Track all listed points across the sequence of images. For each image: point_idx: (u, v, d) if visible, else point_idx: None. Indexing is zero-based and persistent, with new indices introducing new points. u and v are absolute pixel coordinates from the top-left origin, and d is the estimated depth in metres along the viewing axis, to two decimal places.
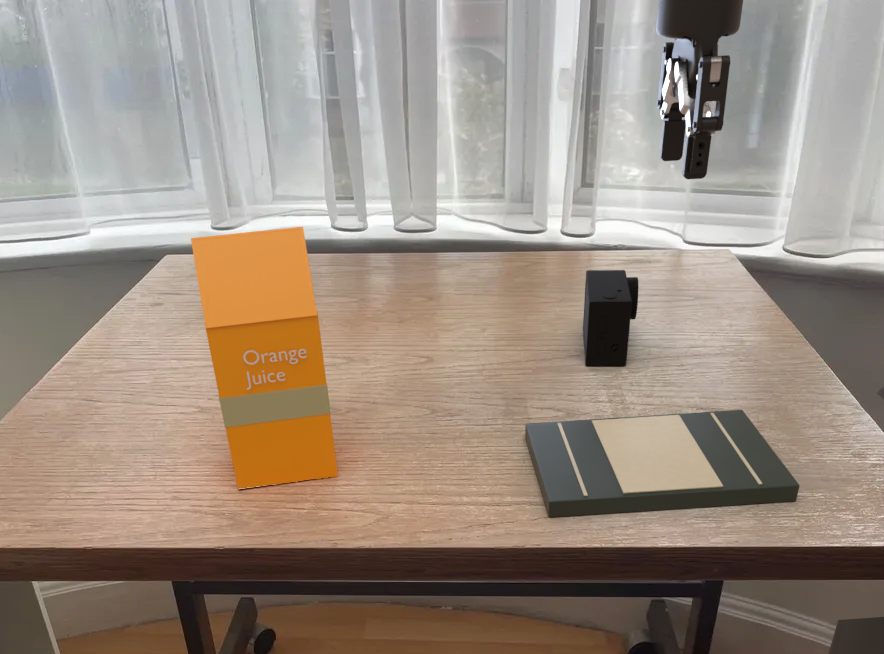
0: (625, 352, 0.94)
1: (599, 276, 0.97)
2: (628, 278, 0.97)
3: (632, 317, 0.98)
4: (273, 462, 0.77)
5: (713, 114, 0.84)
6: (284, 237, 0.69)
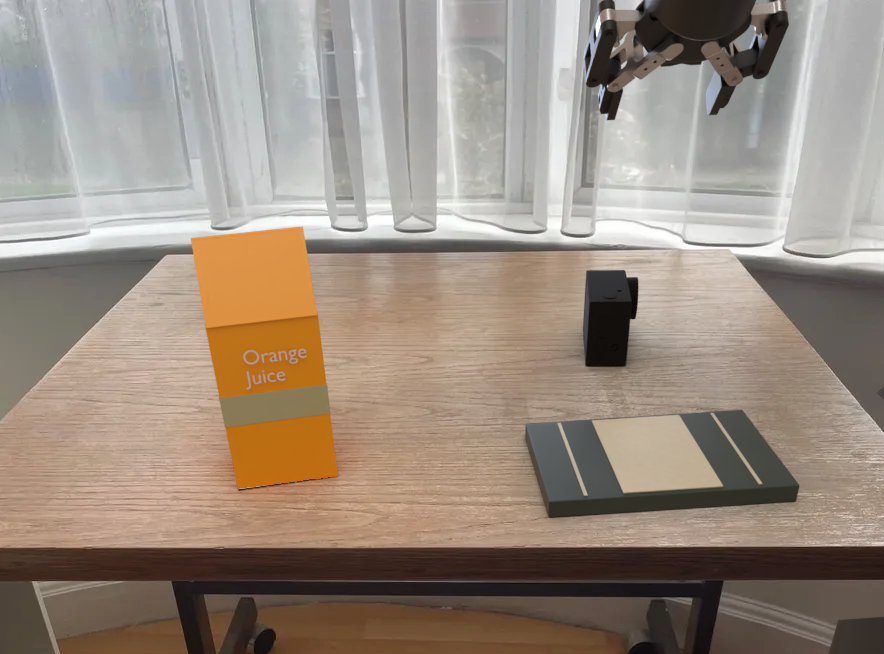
0: (625, 352, 0.94)
1: (599, 276, 0.97)
2: (628, 278, 0.97)
3: (632, 317, 0.98)
4: (273, 462, 0.77)
5: (619, 74, 0.69)
6: (284, 237, 0.69)
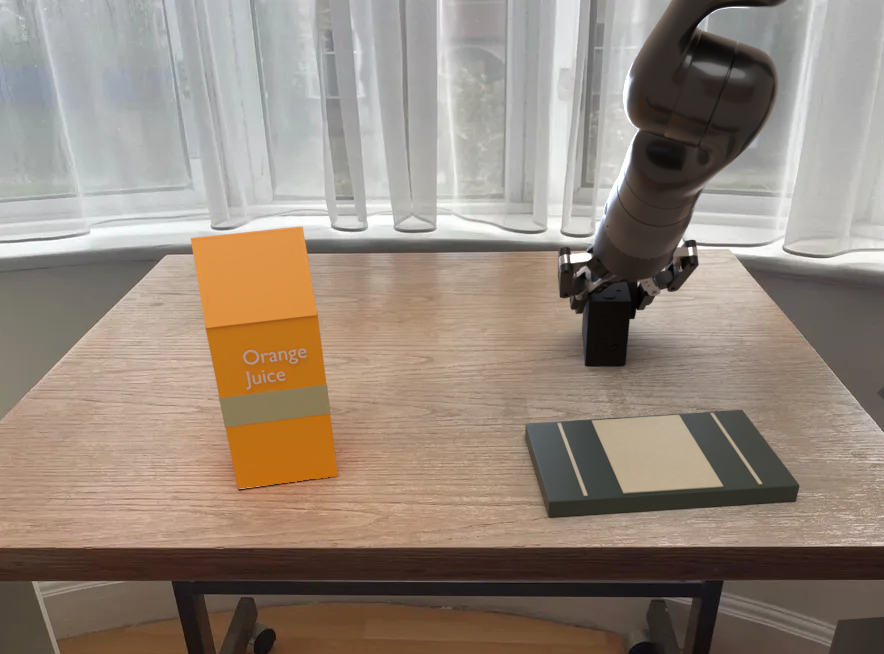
0: (625, 352, 0.94)
1: None
2: None
3: (631, 317, 0.98)
4: (273, 462, 0.77)
5: (582, 291, 0.92)
6: (284, 237, 0.69)
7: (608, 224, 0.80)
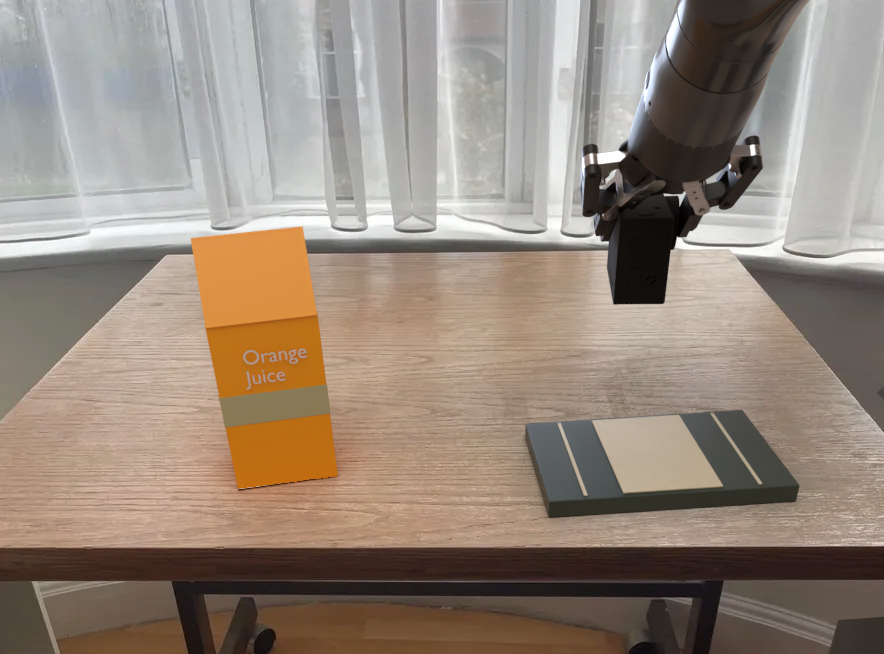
0: (664, 286, 0.74)
1: None
2: (666, 196, 0.77)
3: (670, 246, 0.78)
4: (273, 462, 0.77)
5: (611, 206, 0.73)
6: (283, 237, 0.69)
7: (651, 100, 0.61)
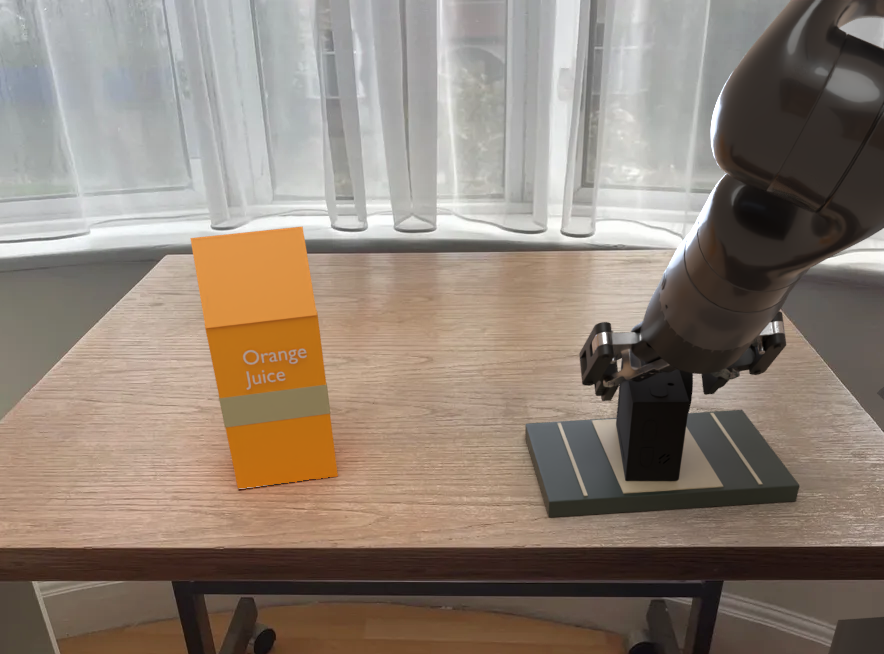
0: (678, 464, 0.71)
1: None
2: None
3: None
4: (273, 462, 0.77)
5: (615, 376, 0.69)
6: (283, 237, 0.69)
7: (667, 304, 0.57)
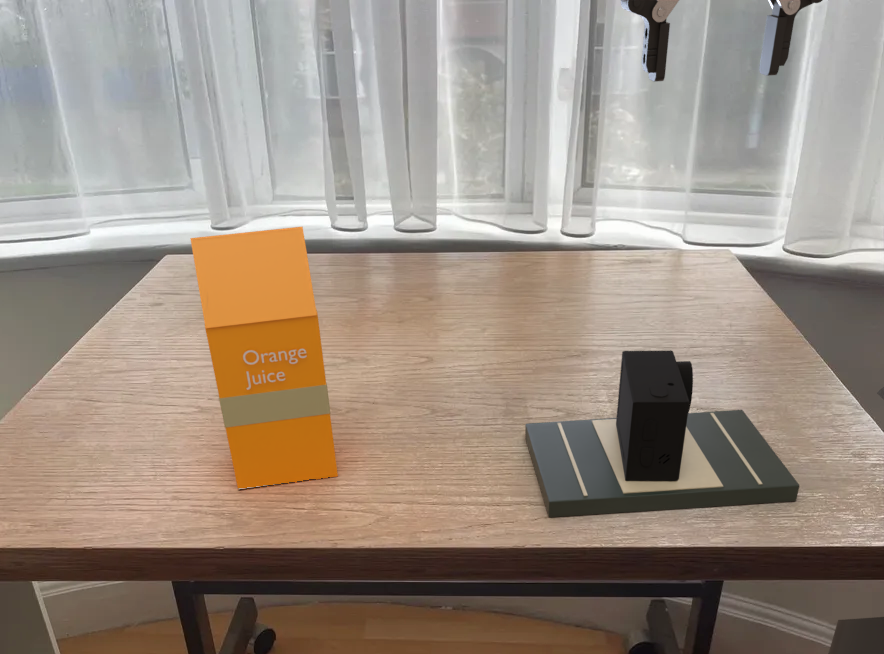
0: (678, 464, 0.71)
1: (641, 360, 0.75)
2: (679, 363, 0.74)
3: None
4: (273, 462, 0.77)
5: None
6: (283, 237, 0.69)
7: None
